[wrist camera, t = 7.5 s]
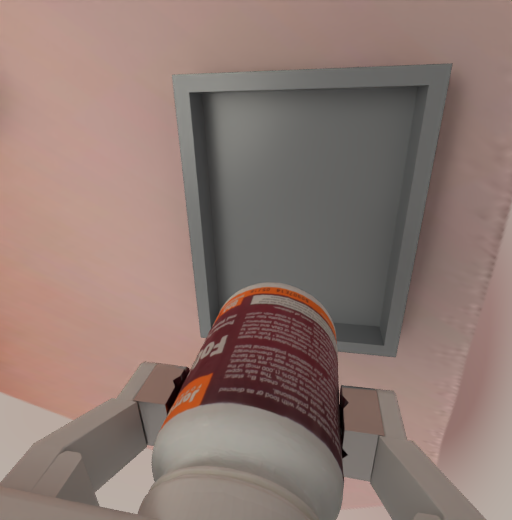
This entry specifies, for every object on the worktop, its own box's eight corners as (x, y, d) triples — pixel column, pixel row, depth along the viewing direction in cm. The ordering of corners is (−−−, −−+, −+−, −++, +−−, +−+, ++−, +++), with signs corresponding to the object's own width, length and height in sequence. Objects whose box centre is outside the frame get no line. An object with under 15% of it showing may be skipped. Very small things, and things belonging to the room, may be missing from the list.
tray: (191, 78, 24) (172, 74, 21) (433, 69, 21) (452, 63, 18) (212, 314, 32) (200, 337, 29) (388, 330, 30) (395, 357, 27)
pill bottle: (227, 265, 13) (88, 496, 5) (352, 297, 12) (393, 596, 5) (211, 359, 15) (96, 619, 7) (317, 389, 14) (310, 695, 7)
